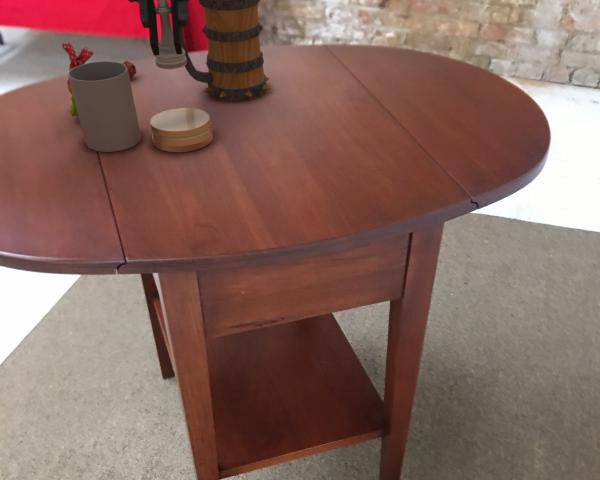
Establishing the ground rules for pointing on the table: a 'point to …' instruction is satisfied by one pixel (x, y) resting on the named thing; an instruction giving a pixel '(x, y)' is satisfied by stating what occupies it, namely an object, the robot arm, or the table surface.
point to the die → (130, 68)
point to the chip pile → (181, 130)
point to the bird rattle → (74, 63)
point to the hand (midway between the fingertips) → (166, 49)
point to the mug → (231, 51)
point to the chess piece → (167, 41)
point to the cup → (105, 105)
